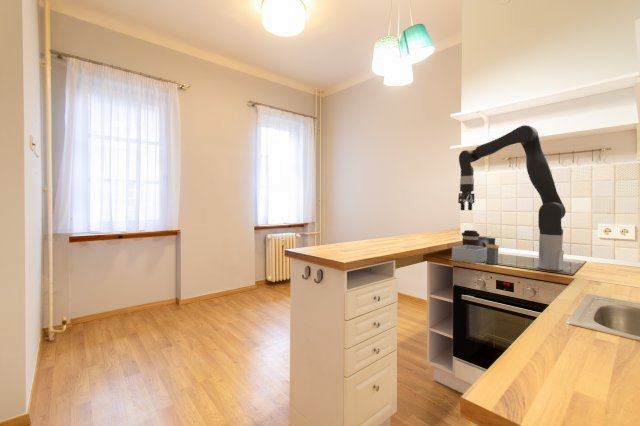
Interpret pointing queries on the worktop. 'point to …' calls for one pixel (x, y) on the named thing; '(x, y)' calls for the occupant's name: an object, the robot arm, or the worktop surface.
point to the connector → (492, 254)
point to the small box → (485, 241)
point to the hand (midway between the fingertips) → (466, 210)
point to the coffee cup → (470, 237)
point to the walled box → (469, 253)
